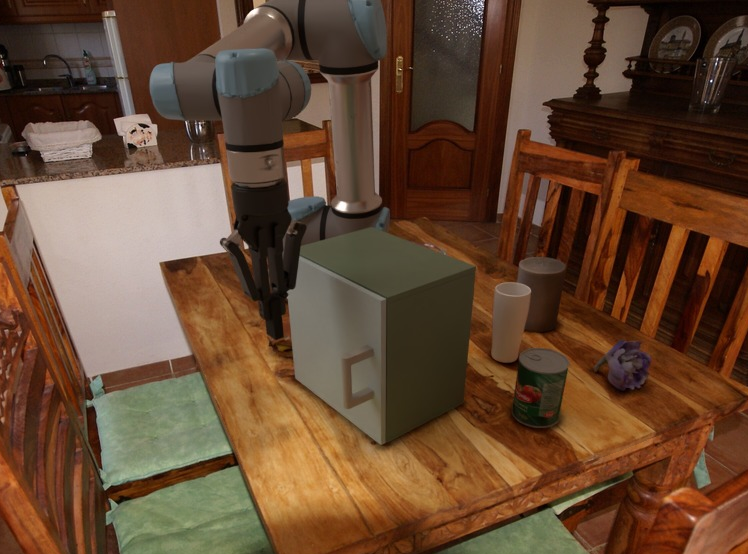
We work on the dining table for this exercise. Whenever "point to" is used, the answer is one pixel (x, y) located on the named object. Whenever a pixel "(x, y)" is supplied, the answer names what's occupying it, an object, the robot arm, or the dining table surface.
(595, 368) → the flower
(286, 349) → the burger
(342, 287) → the door
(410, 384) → the cupboard
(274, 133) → the robot arm
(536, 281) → the pillar candle
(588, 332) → the dining table surface
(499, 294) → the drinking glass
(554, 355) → the canned tomato
